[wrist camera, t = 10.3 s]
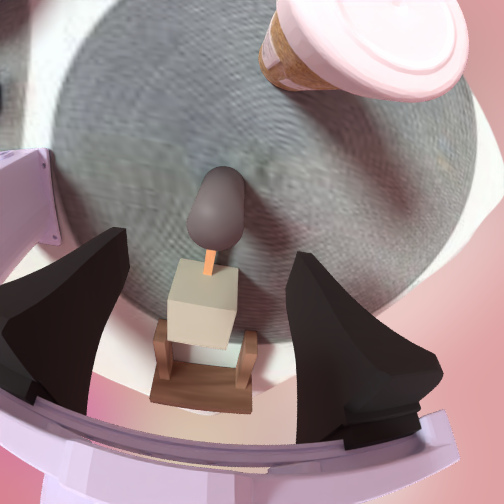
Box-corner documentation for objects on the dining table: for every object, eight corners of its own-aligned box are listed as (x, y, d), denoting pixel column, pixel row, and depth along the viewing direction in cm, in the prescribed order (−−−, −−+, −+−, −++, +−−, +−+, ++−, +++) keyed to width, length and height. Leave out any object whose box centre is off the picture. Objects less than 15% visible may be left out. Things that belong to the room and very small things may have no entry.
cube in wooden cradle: (151, 317, 27) (138, 364, 22) (264, 331, 28) (267, 380, 23) (158, 362, 32) (150, 402, 27) (249, 373, 33) (250, 414, 28)
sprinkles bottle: (299, 104, 16) (413, 148, 5) (243, 64, 14) (233, -3, 3) (340, 58, 14) (496, 42, 3) (285, 17, 12) (364, -92, 1)
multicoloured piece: (192, 160, 18) (170, 192, 13) (262, 173, 18) (268, 210, 14) (177, 299, 25) (165, 349, 20) (228, 308, 26) (225, 359, 21)
